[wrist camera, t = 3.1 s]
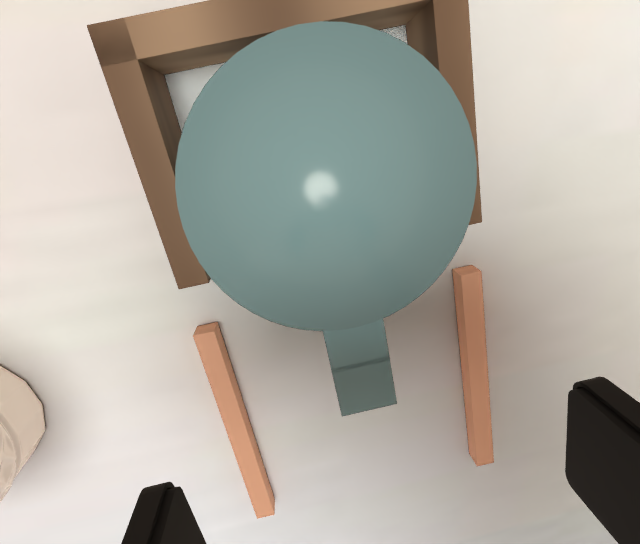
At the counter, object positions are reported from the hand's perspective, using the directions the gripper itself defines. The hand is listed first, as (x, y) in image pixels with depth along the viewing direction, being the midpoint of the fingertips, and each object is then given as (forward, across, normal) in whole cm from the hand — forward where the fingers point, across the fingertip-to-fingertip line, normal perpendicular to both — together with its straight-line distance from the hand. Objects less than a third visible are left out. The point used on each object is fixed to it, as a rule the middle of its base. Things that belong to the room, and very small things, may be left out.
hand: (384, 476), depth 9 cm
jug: (+11, -1, -4) cm, 12 cm away
